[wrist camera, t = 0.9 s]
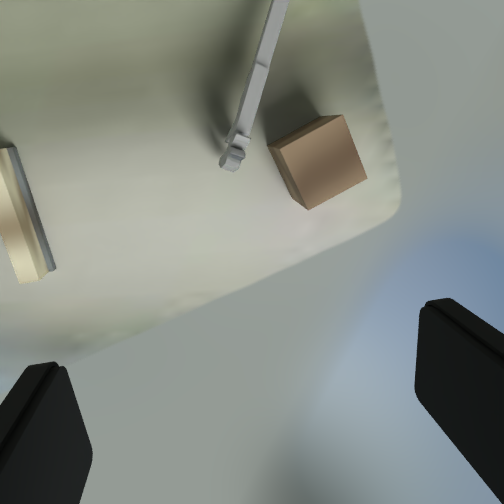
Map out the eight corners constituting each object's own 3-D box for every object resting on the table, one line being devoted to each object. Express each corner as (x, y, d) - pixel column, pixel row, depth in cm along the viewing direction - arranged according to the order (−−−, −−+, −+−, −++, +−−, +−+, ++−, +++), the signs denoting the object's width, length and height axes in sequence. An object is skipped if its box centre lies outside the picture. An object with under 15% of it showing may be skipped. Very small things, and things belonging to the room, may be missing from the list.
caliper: (230, 167, 30) (239, 179, 24) (217, 163, 30) (223, 173, 24) (326, -127, 25) (367, -204, 19) (311, -136, 24) (349, -217, 18)
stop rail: (-11, 150, 27) (-30, 152, 25) (15, 146, 28) (-1, 148, 25) (33, 272, 31) (19, 284, 29) (56, 268, 31) (45, 279, 29)
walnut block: (267, 145, 30) (279, 149, 26) (320, 116, 30) (343, 114, 26) (292, 198, 32) (308, 210, 27) (342, 170, 32) (367, 178, 27)
